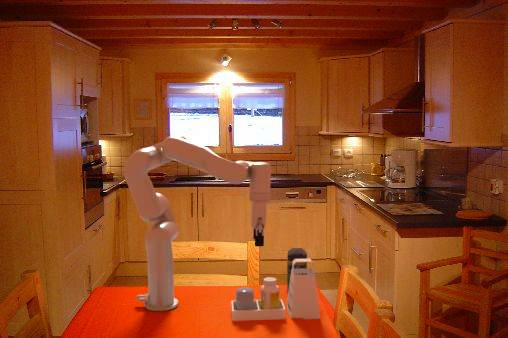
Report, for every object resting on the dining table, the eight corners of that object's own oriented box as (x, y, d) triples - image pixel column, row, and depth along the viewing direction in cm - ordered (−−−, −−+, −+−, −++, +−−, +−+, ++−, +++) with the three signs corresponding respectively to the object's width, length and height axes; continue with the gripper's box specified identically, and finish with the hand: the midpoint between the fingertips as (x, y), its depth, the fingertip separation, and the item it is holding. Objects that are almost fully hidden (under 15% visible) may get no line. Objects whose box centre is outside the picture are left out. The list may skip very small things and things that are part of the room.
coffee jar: (286, 290, 215) (287, 246, 212) (306, 290, 214) (306, 246, 212) (286, 298, 205) (287, 252, 203) (307, 299, 205) (307, 253, 202)
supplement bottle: (281, 311, 191) (281, 277, 189) (276, 318, 185) (276, 283, 183) (264, 309, 193) (264, 275, 192) (258, 315, 187) (258, 281, 185)
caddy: (232, 322, 183) (232, 311, 182) (231, 311, 192) (231, 300, 192) (285, 320, 184) (285, 309, 184) (281, 309, 194) (281, 299, 193)
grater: (286, 308, 195) (286, 256, 193) (313, 307, 196) (314, 255, 194) (290, 319, 185) (291, 264, 183) (319, 318, 186) (320, 264, 184)
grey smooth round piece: (236, 318, 184) (236, 294, 183) (235, 311, 191) (235, 287, 190) (254, 318, 185) (254, 293, 184) (253, 311, 191) (253, 287, 190)
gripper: (248, 192, 198) (247, 236, 200) (250, 200, 181) (249, 249, 183) (268, 192, 198) (266, 236, 200) (272, 201, 181) (270, 249, 183)
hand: (258, 242), depth 191 cm, fingers open, 9 cm apart
